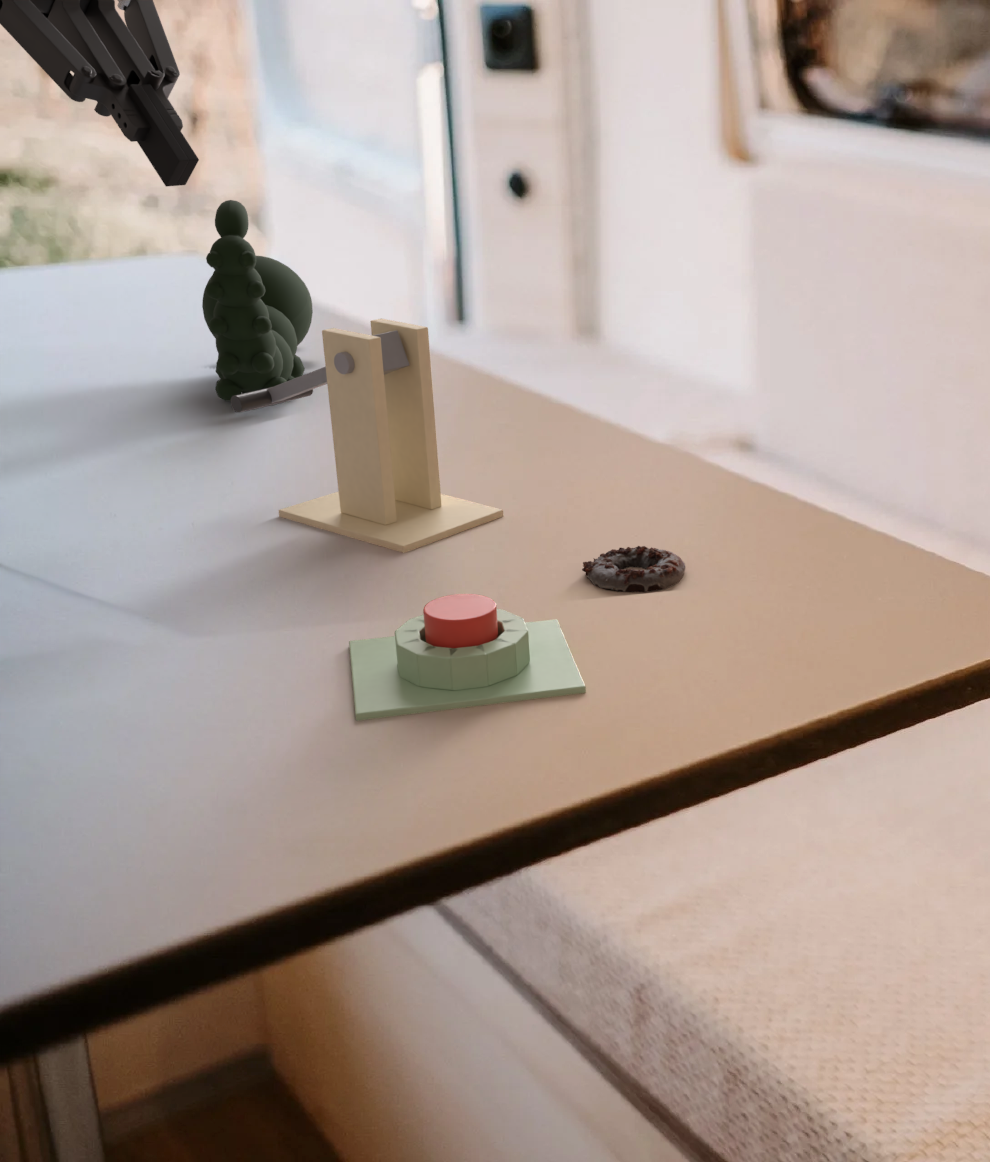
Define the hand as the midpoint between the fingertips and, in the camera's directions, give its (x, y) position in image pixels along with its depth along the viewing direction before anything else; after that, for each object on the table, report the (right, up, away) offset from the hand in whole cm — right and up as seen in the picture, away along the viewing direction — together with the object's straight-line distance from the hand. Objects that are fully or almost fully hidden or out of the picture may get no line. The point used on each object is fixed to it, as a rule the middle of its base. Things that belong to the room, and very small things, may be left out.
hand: (182, 172), depth 101 cm
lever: (+11, -15, -2) cm, 19 cm away
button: (+27, -31, -26) cm, 48 cm away
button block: (+26, -34, -25) cm, 50 cm away
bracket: (+15, -25, 0) cm, 29 cm away
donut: (+33, -29, -9) cm, 45 cm away
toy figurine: (-8, -11, +33) cm, 35 cm away
